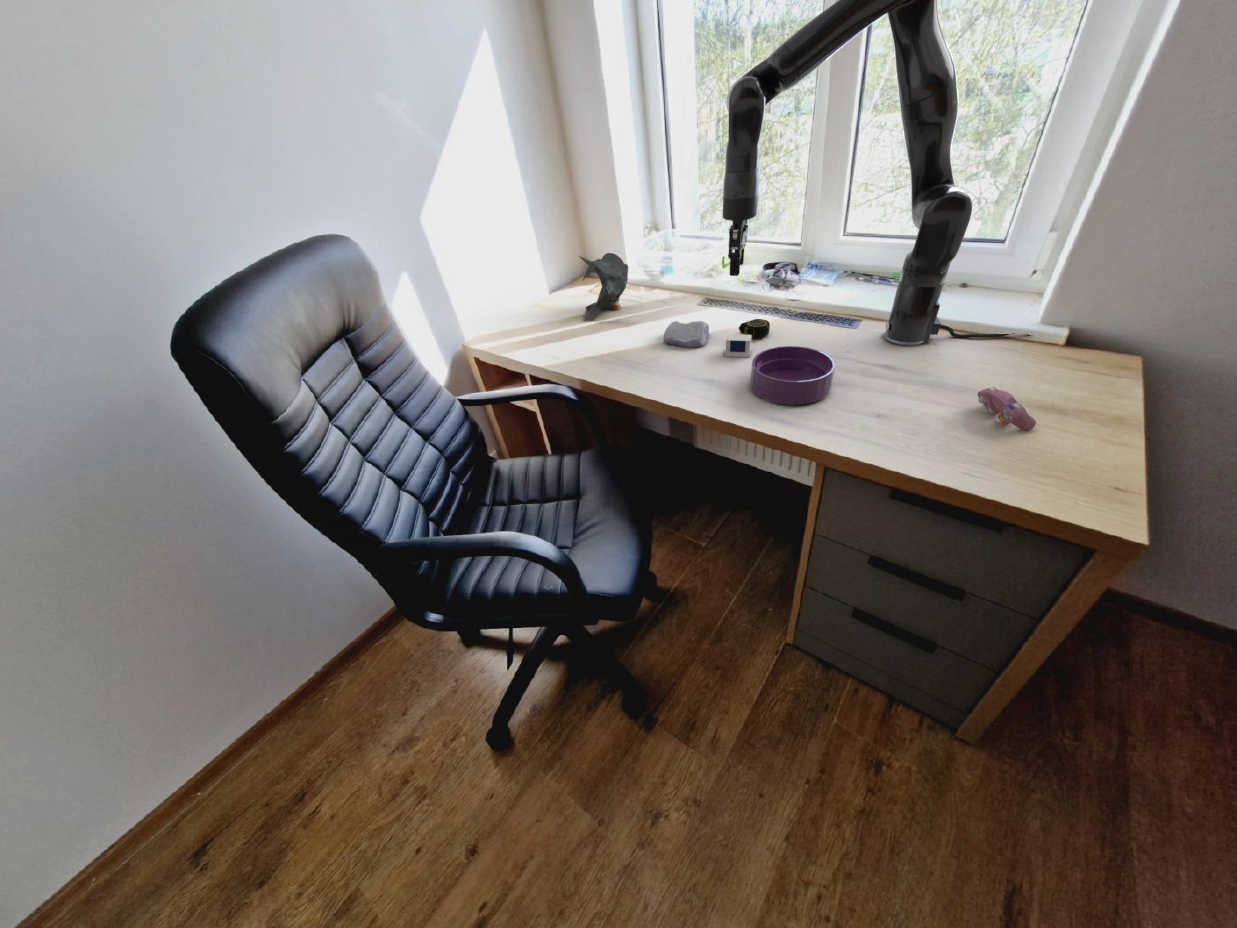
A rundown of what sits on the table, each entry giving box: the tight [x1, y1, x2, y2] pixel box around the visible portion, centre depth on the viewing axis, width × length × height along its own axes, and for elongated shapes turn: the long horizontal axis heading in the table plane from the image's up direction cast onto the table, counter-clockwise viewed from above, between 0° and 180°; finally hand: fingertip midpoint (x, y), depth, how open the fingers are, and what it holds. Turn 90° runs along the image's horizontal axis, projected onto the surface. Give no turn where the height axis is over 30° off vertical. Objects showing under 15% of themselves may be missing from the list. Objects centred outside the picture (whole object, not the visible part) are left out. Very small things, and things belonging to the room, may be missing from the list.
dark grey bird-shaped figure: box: [578, 252, 629, 322], centre depth 150 cm, size 14×15×18 cm
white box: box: [724, 333, 752, 358], centre depth 119 cm, size 6×4×4 cm, turn 73°
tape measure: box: [738, 318, 771, 339], centre depth 127 cm, size 7×7×4 cm
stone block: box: [663, 320, 710, 349], centre depth 130 cm, size 12×5×10 cm
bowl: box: [749, 345, 836, 406], centre depth 104 cm, size 17×17×6 cm
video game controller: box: [977, 386, 1037, 431], centre depth 87 cm, size 10×5×7 cm, turn 5°
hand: (736, 269), depth 113 cm, fingers open, 8 cm apart
